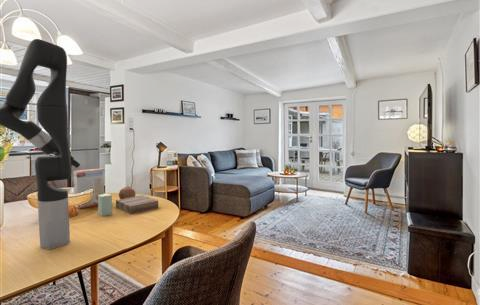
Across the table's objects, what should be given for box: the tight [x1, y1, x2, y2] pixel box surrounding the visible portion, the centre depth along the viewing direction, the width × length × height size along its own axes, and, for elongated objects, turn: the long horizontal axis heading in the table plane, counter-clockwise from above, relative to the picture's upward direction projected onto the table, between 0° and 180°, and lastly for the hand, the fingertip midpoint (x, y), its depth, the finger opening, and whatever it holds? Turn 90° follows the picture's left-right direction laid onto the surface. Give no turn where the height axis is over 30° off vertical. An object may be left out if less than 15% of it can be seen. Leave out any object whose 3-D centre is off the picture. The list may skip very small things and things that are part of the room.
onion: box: [118, 185, 136, 200], centre depth 161 cm, size 10×9×10 cm
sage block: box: [97, 193, 113, 217], centre depth 135 cm, size 5×5×10 cm
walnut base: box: [115, 194, 159, 215], centre depth 148 cm, size 18×16×4 cm
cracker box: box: [72, 168, 105, 210], centre depth 150 cm, size 14×6×21 cm, turn 139°
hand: (75, 165), depth 124 cm, fingers open, 8 cm apart
